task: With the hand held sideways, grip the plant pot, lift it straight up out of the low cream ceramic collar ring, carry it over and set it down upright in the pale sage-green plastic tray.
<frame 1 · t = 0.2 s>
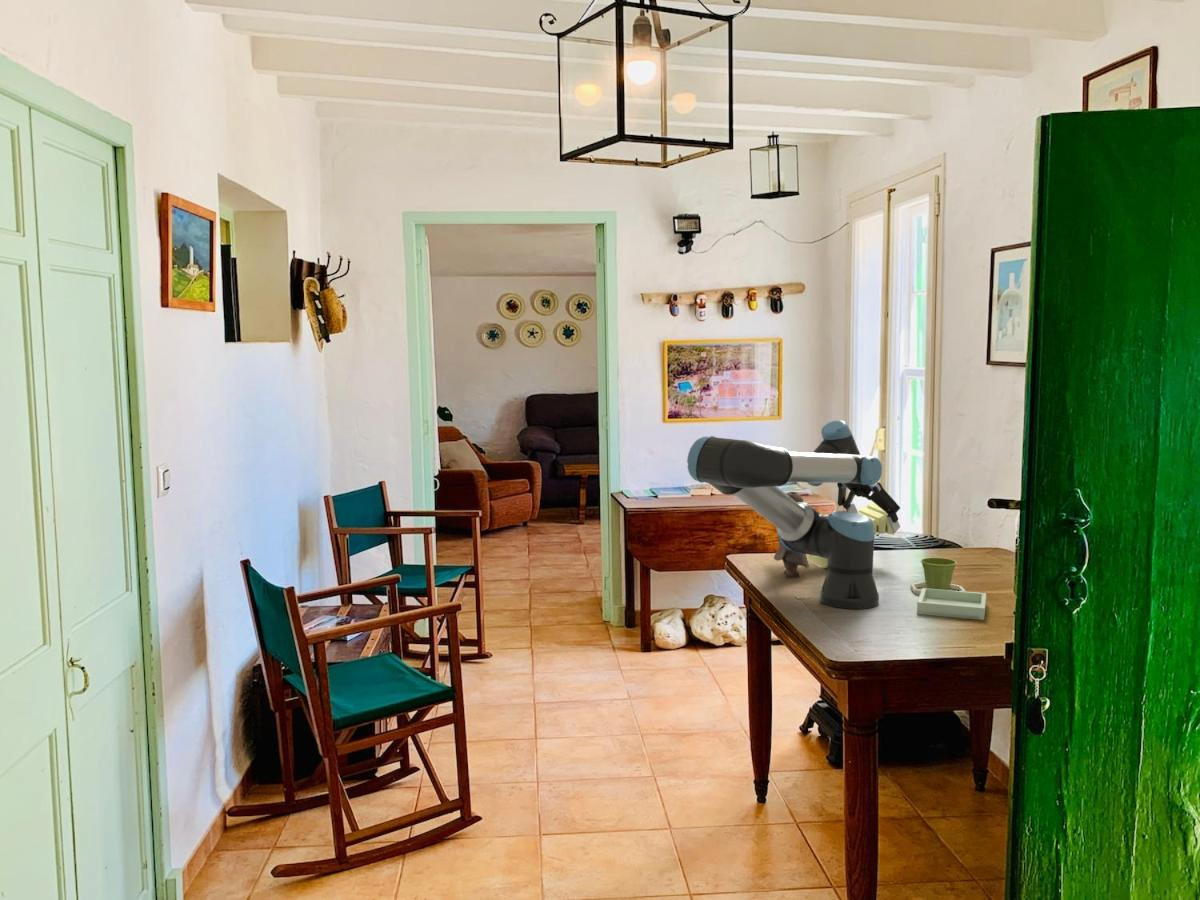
hand: (877, 526, 300), 15 cm above the table, tool tilted 35°, fingers open, 13 cm apart
plant pot: (937, 592, 284), resting in collar ring
collar ring: (937, 591, 284), on the table
tray: (951, 609, 267), on the table
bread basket: (835, 564, 319), on the table
clay figurine: (790, 577, 303), on the table
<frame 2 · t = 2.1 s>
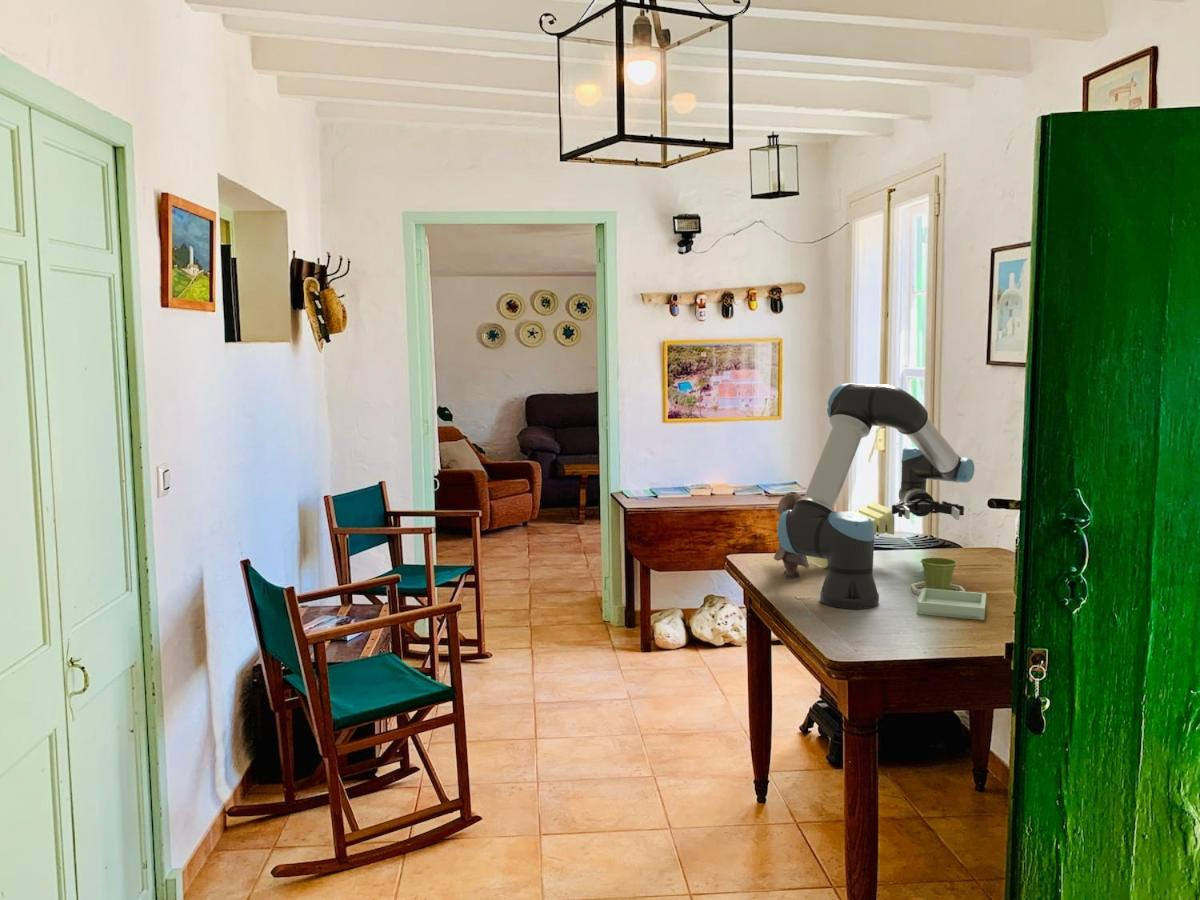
hand: (933, 514, 292), 20 cm above the table, tool horizontal, fingers open, 13 cm apart
nothing on the table moved.
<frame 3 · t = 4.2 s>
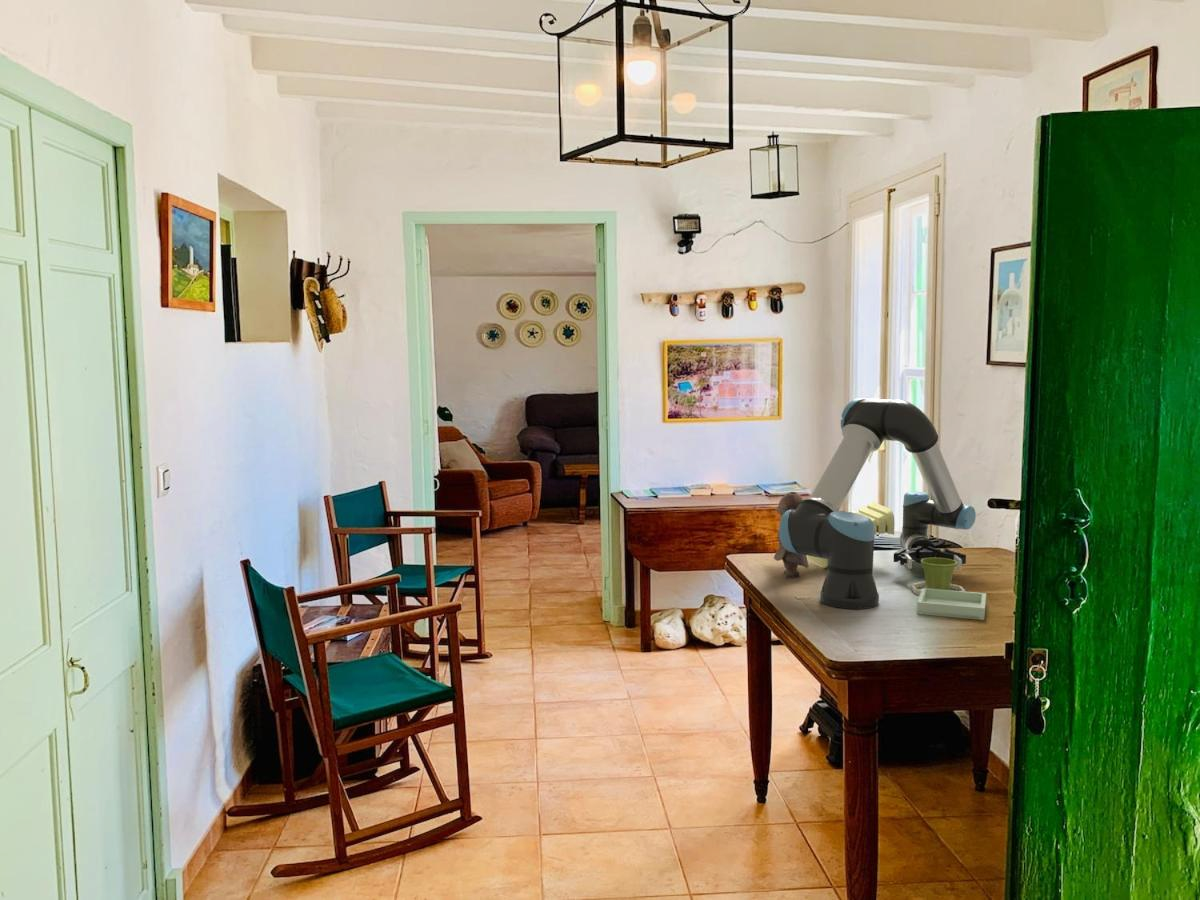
hand: (935, 564, 290), 6 cm above the table, tool horizontal, fingers open, 13 cm apart
nothing on the table moved.
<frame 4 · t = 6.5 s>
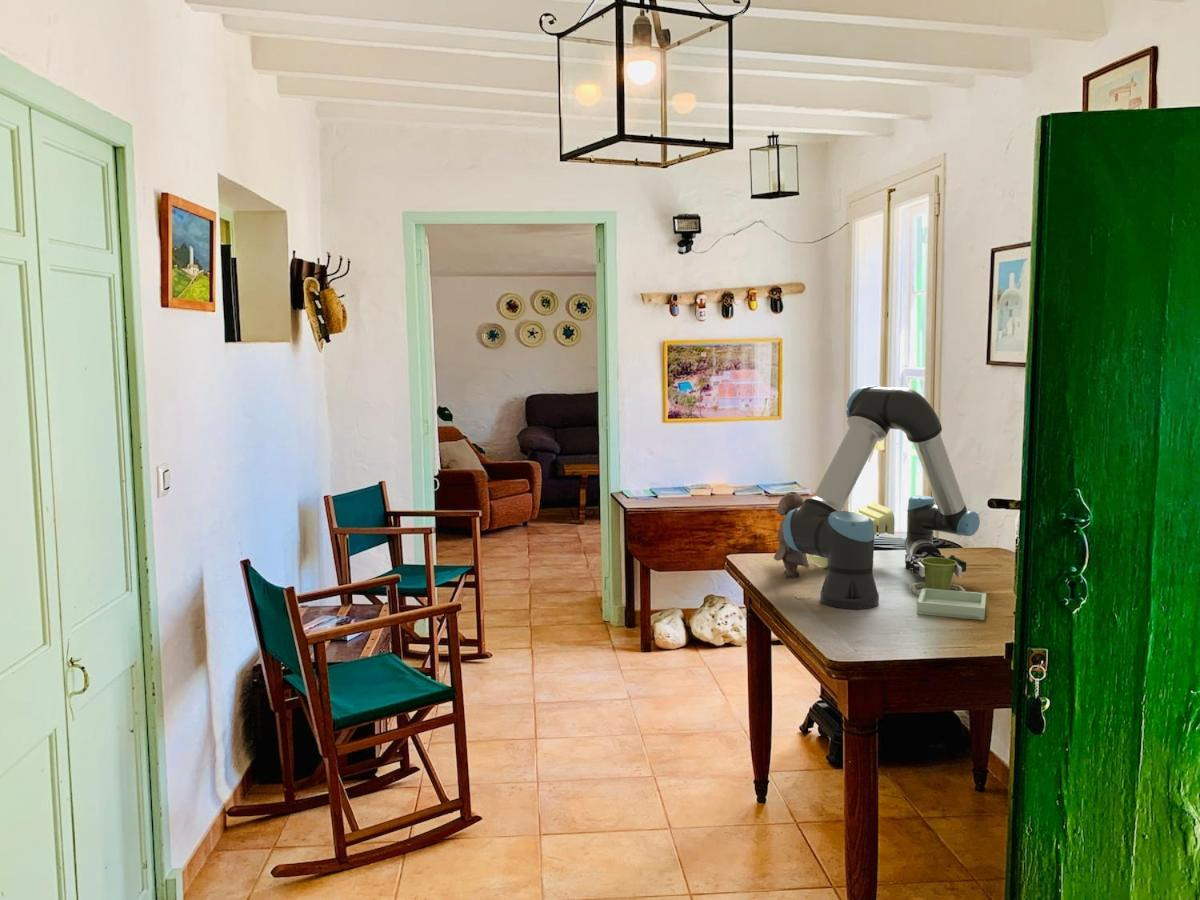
hand: (941, 572, 279), 7 cm above the table, tool horizontal, fingers closed on plant pot, 9 cm apart
plant pot: (937, 592, 284), resting in collar ring, touching gripper
everything else where it was.
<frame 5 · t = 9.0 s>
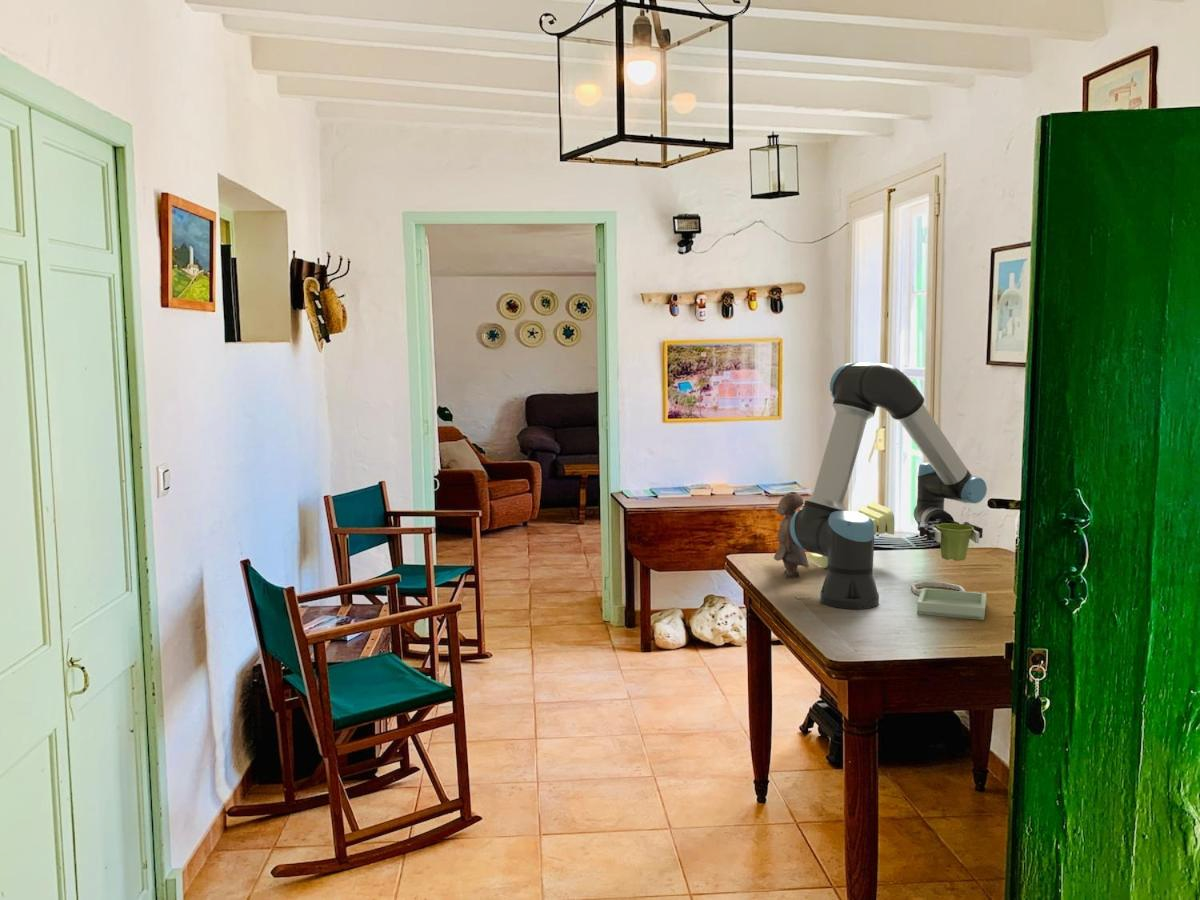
hand: (958, 537, 268), 18 cm above the table, tool horizontal, fingers closed on plant pot, 9 cm apart
plant pot: (953, 559, 274), point 11 cm above the table, touching gripper
everything else where it was.
when the fingers open (9 cm above the table, at t = 11.7 s): plant pot moves 4 cm, resting on tray.
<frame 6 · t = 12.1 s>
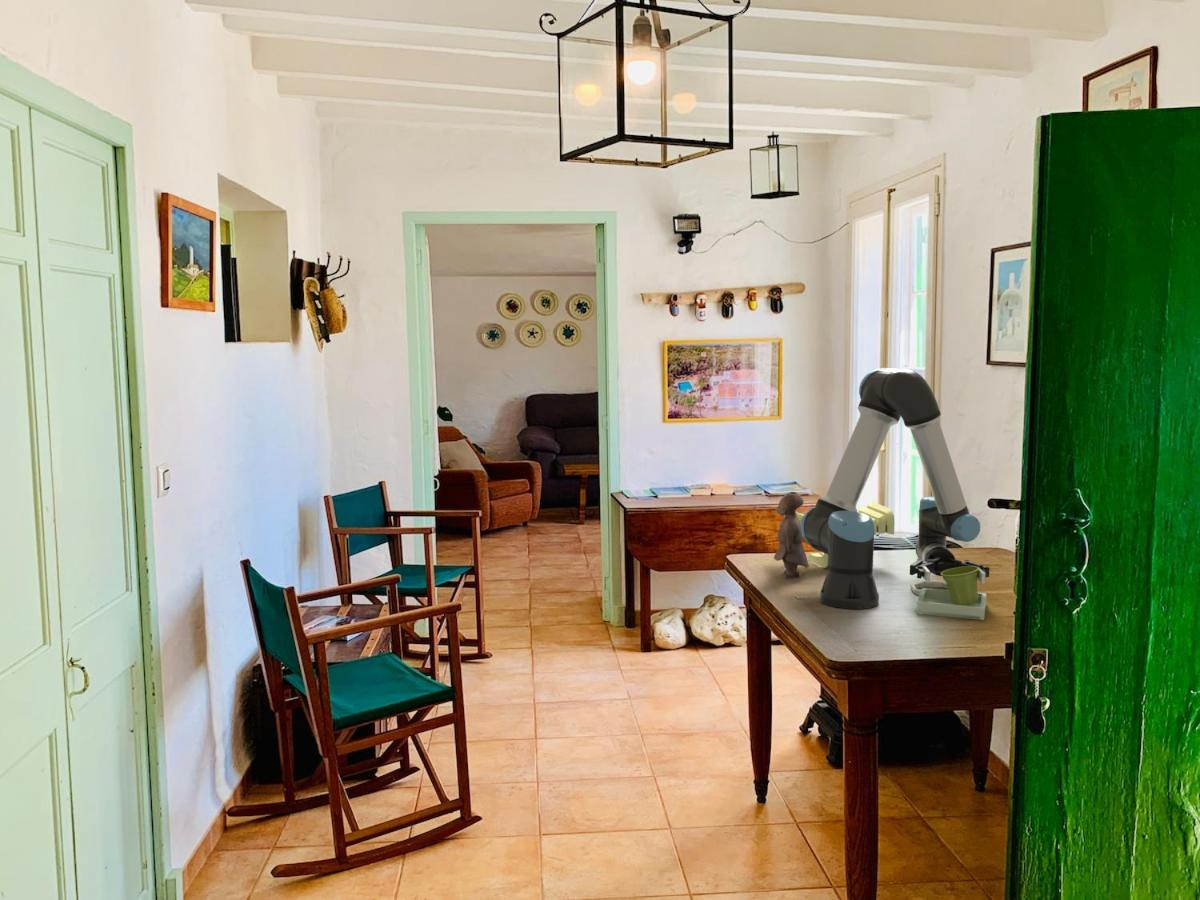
hand: (956, 577, 262), 9 cm above the table, tool horizontal, fingers open, 13 cm apart
plant pot: (965, 603, 267), point 1 cm above the table, touching tray
everything else where it was.
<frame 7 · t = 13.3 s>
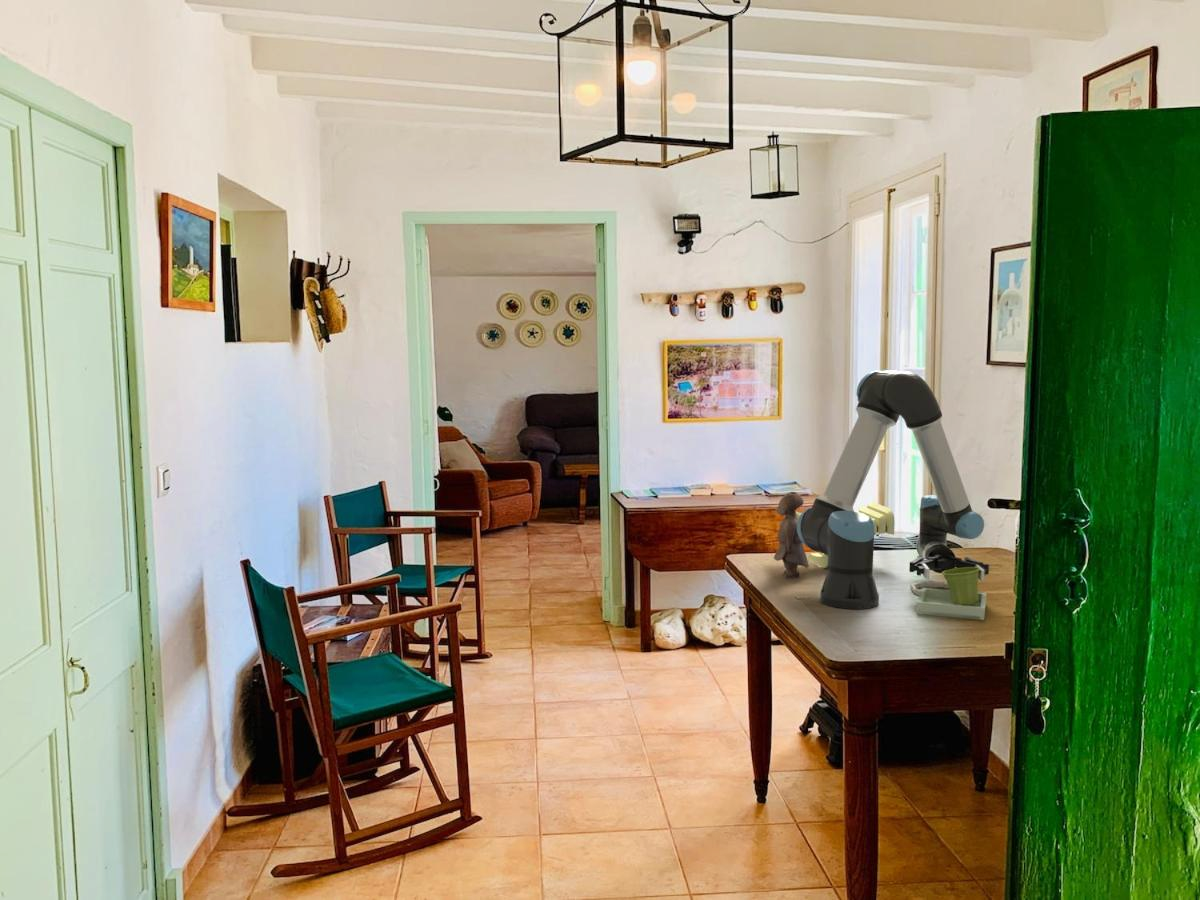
hand: (955, 574, 265), 9 cm above the table, tool horizontal, fingers open, 13 cm apart
plant pot: (966, 604, 267), point 1 cm above the table, touching gripper, tray
everything else where it was.
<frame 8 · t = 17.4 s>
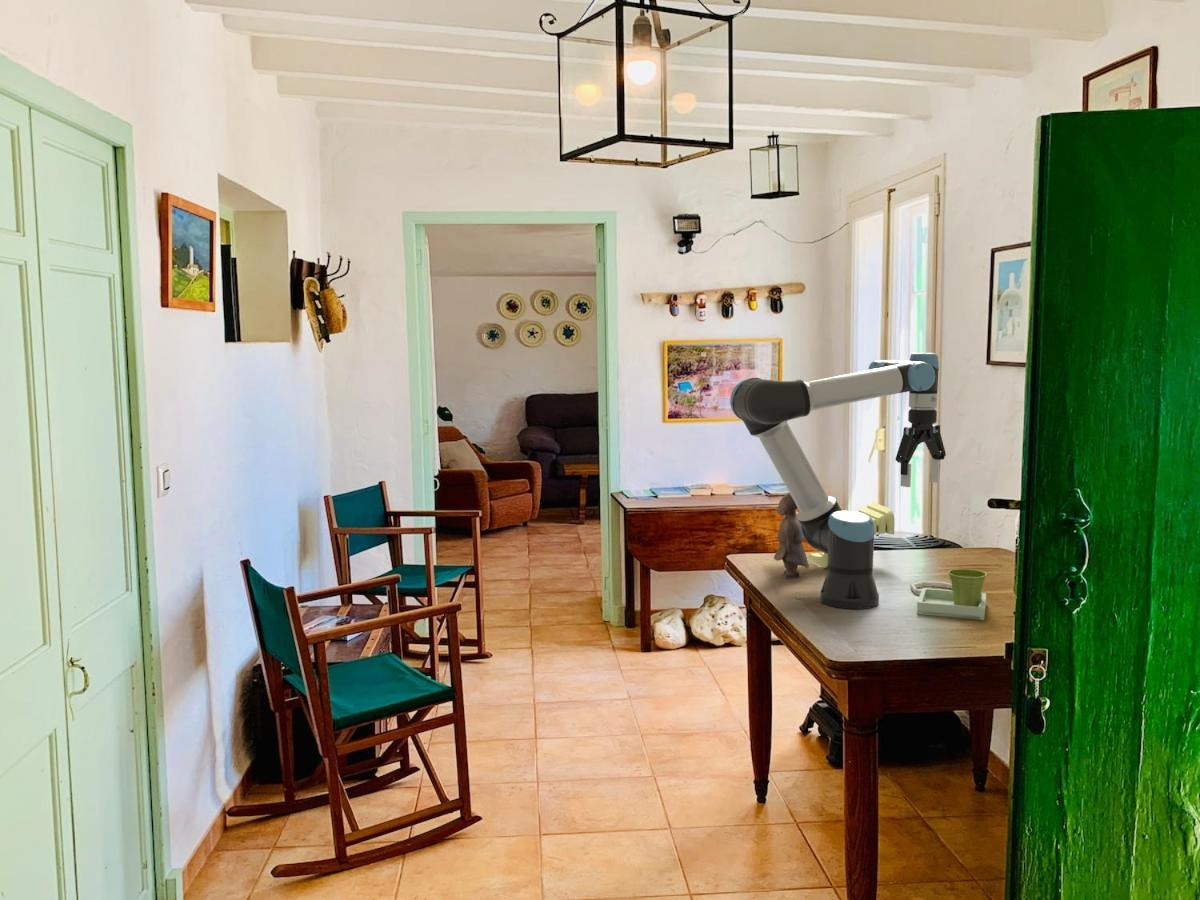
hand: (920, 484, 289), 29 cm above the table, tool pointing down, fingers open, 13 cm apart
plant pot: (966, 606, 267), point 1 cm above the table, touching tray
everything else where it was.
at the end: plant pot inside the target area on the tray (3.7 cm from its centre), point 0.6 cm above the tray's base; plant pot tilted 0°; the gripper is holding nothing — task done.
